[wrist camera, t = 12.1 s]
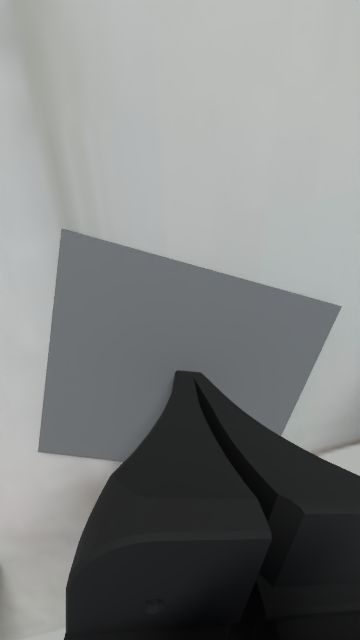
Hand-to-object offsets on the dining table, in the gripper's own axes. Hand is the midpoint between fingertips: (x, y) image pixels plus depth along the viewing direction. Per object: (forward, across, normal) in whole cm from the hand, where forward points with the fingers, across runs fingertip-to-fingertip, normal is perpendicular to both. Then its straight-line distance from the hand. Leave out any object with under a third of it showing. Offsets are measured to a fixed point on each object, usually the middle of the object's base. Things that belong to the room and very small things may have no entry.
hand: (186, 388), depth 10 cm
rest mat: (+1, 0, 0) cm, 1 cm away
